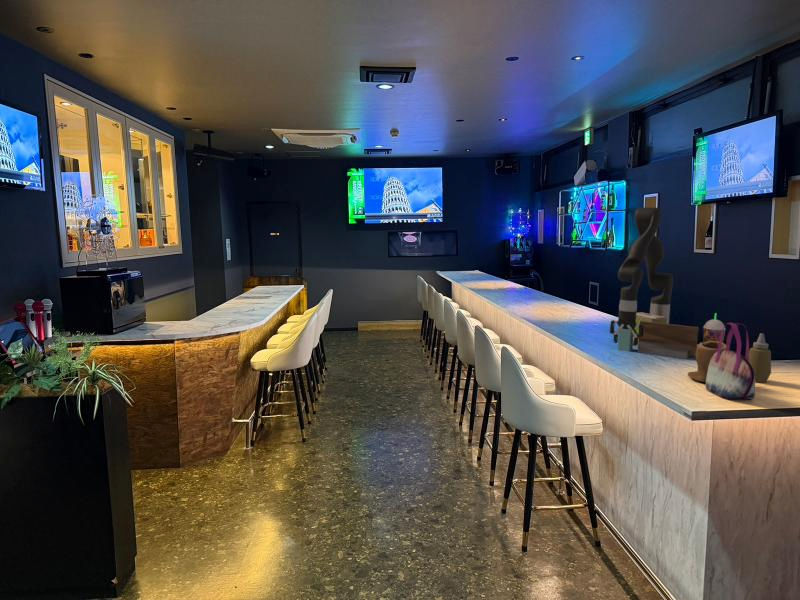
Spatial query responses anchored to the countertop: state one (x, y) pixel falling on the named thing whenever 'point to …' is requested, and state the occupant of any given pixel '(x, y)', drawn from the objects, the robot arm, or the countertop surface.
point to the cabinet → (625, 340)
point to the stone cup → (704, 359)
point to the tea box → (648, 319)
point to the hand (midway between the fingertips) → (625, 344)
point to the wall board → (668, 340)
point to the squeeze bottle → (760, 359)
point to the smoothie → (713, 330)
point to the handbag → (731, 370)
